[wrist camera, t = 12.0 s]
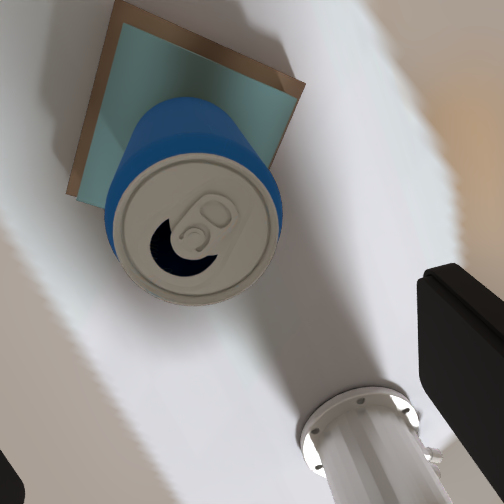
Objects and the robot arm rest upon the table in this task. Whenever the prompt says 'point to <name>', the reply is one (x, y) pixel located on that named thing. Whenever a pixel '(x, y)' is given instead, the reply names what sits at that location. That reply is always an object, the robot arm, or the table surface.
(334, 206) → the table surface
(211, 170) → the beverage can
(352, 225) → the table surface
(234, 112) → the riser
